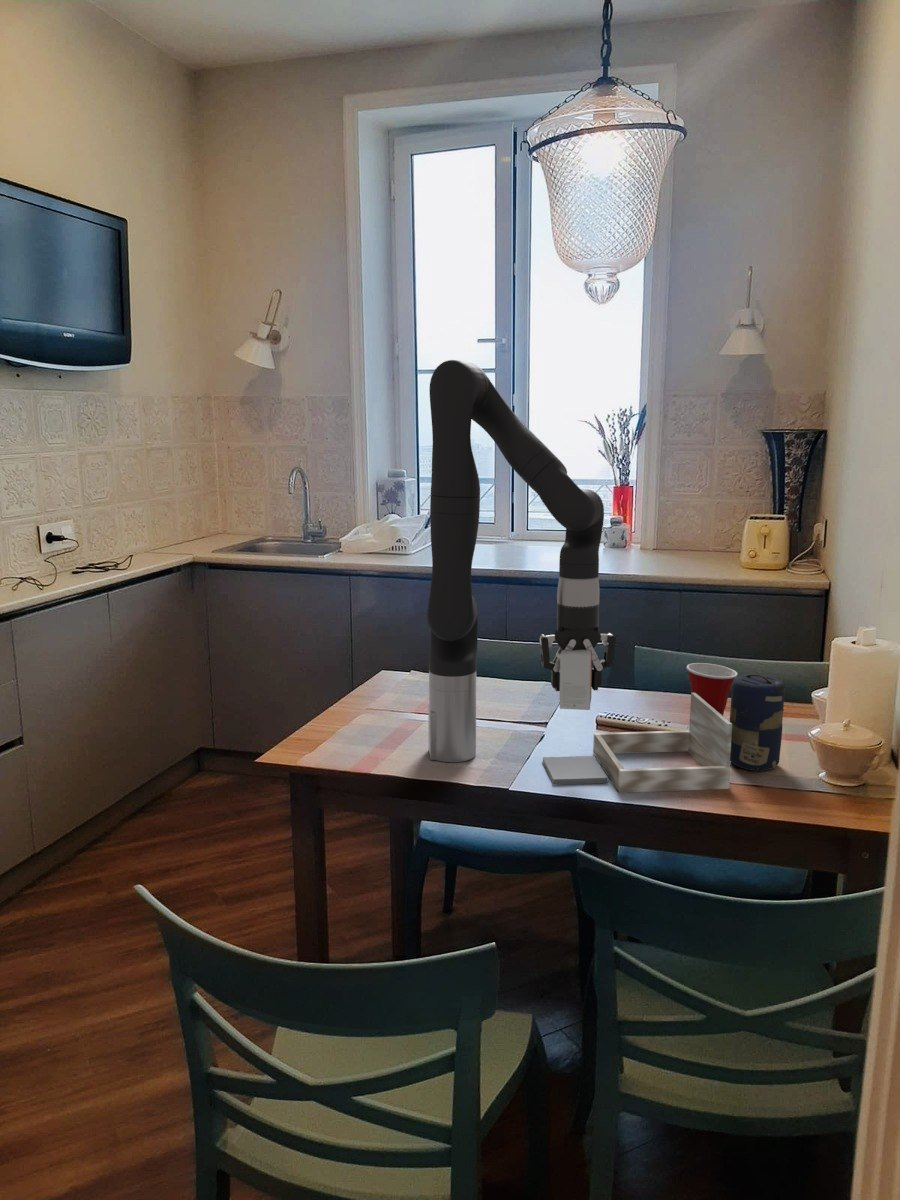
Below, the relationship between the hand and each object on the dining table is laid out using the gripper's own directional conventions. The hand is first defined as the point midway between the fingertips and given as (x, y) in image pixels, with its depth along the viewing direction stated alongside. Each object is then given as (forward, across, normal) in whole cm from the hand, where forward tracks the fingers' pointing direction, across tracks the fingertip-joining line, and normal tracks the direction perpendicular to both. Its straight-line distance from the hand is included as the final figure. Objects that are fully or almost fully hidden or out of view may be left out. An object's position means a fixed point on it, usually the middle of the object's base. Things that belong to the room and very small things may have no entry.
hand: (576, 689), depth 165 cm
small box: (+3, 0, 0) cm, 3 cm away
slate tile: (+16, 0, 0) cm, 16 cm away
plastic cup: (+16, +36, +27) cm, 48 cm away
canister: (+16, +35, +1) cm, 39 cm away
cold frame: (+16, +16, 0) cm, 23 cm away
